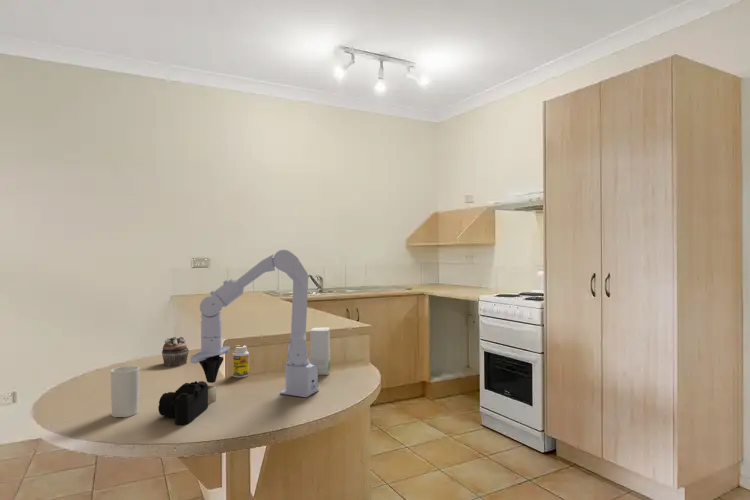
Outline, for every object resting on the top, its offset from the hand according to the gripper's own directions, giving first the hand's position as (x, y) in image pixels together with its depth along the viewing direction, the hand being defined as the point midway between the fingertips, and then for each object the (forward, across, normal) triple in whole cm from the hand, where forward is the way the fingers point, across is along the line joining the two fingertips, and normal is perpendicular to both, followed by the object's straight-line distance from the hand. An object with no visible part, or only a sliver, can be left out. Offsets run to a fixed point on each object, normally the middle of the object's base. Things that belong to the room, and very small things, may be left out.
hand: (211, 382), depth 141 cm
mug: (+5, +19, -12) cm, 23 cm away
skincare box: (+5, -37, +16) cm, 41 cm away
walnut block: (+3, +4, +3) cm, 6 cm away
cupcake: (+5, -26, -41) cm, 49 cm away
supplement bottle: (+5, -22, -7) cm, 24 cm away
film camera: (+5, +15, +4) cm, 16 cm away
